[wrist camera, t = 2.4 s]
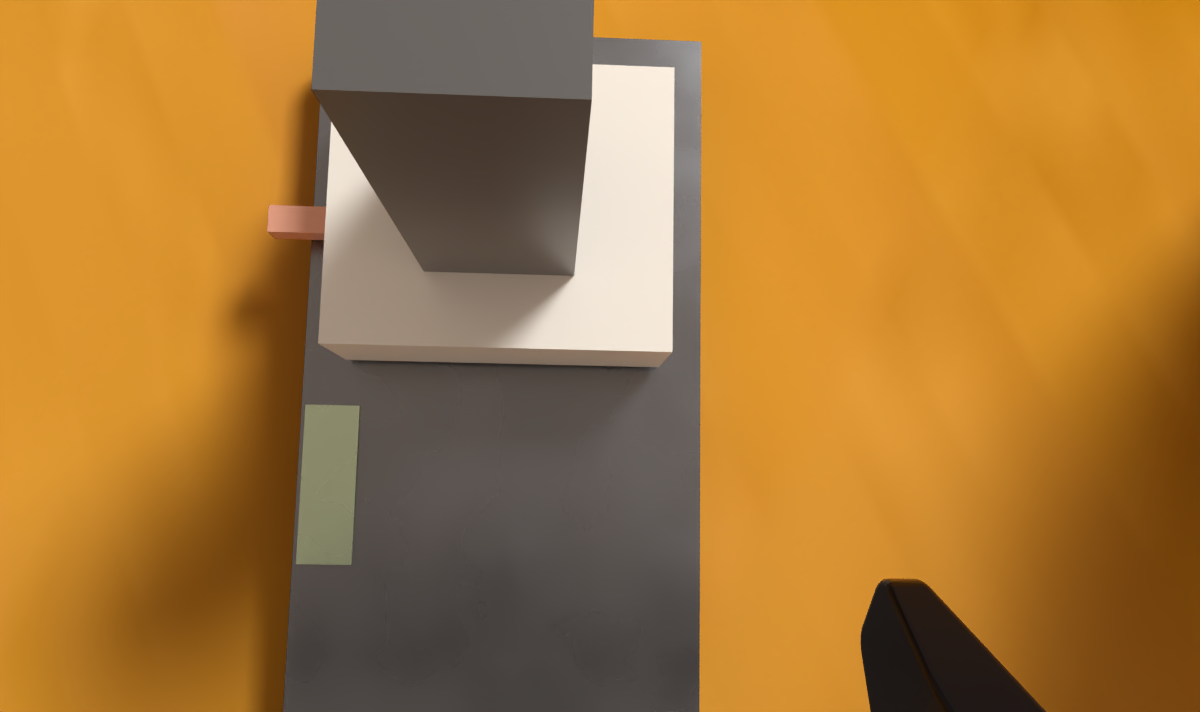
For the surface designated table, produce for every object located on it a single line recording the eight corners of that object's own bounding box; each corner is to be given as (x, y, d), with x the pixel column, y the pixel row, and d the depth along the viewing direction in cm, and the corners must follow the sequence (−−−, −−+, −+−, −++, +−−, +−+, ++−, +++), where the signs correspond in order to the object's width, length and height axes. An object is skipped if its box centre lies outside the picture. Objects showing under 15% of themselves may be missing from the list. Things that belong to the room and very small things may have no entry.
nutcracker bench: (687, 992, 21) (726, 1138, 16) (284, 995, 21) (205, 1146, 16) (691, 68, 24) (725, -31, 19) (339, 55, 24) (286, -50, 19)
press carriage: (658, 367, 21) (775, 240, 10) (269, 358, 21) (-63, 214, 10) (660, 114, 22) (771, -265, 11) (285, 100, 21) (-1, -307, 10)
